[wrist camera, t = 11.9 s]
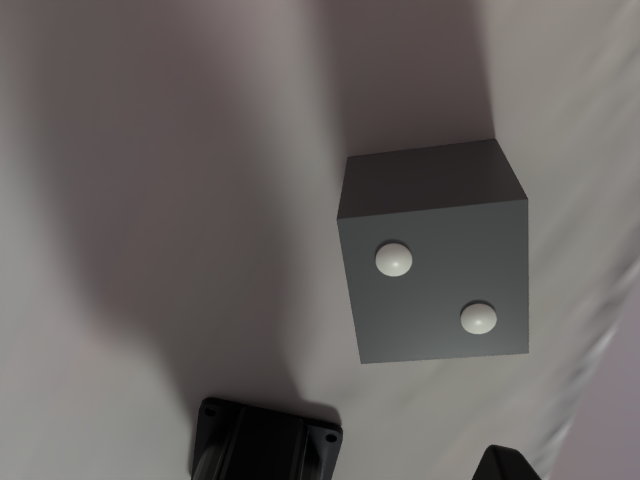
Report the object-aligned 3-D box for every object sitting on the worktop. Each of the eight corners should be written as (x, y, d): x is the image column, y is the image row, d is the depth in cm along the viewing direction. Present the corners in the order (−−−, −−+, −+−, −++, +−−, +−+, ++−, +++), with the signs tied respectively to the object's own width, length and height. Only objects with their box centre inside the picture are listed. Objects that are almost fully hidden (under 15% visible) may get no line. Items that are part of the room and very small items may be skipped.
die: (499, 267, 22) (529, 355, 17) (366, 279, 22) (361, 366, 18) (495, 138, 19) (528, 200, 15) (347, 157, 20) (336, 221, 16)
